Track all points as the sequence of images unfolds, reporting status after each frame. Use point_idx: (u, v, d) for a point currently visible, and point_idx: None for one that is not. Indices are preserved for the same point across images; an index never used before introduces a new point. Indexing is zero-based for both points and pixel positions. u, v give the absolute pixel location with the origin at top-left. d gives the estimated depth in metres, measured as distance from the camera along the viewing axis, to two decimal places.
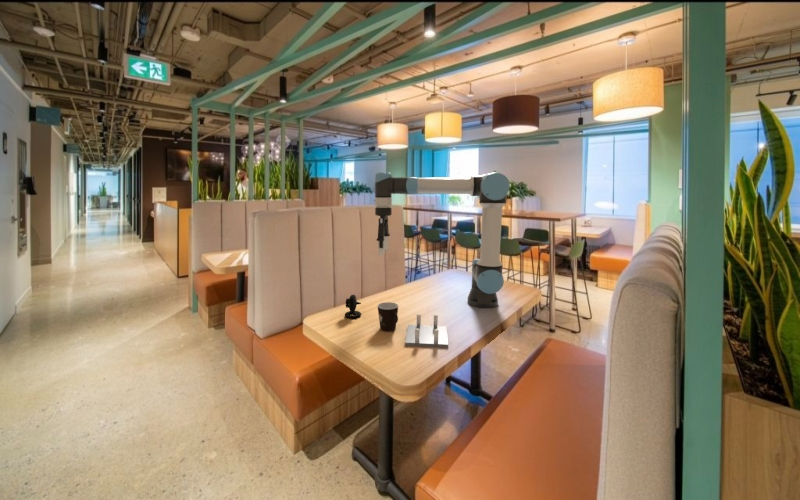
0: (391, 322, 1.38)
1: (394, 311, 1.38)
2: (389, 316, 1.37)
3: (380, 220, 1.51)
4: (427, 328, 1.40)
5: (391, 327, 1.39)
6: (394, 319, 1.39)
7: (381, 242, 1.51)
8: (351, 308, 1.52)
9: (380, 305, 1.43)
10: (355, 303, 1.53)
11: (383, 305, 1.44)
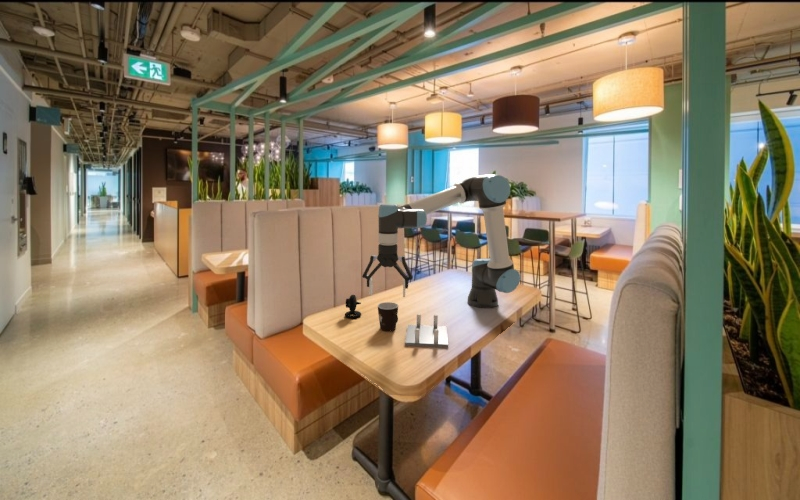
0: (391, 322, 1.38)
1: (394, 311, 1.38)
2: (389, 316, 1.37)
3: None
4: (427, 328, 1.40)
5: (391, 327, 1.39)
6: (394, 319, 1.39)
7: None
8: (351, 308, 1.52)
9: (380, 305, 1.43)
10: (355, 303, 1.53)
11: (383, 305, 1.44)
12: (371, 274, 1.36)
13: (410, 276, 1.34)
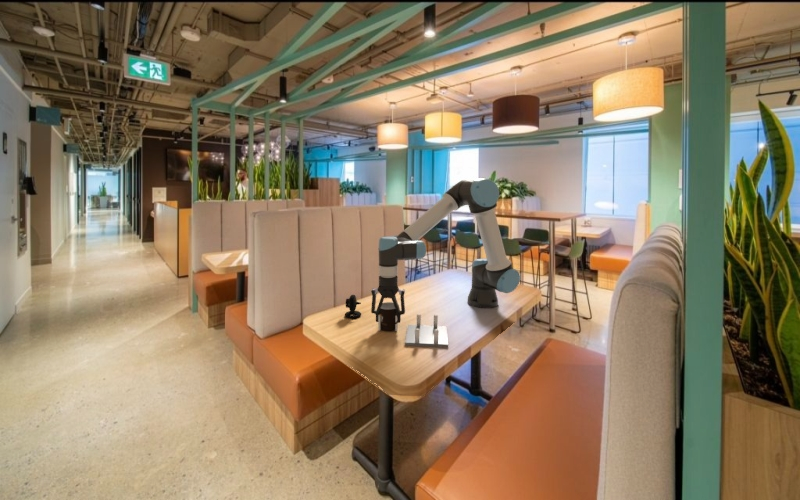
0: (392, 322, 1.38)
1: (395, 311, 1.38)
2: (390, 316, 1.37)
3: None
4: (427, 328, 1.40)
5: (392, 327, 1.39)
6: None
7: None
8: (351, 308, 1.52)
9: None
10: (355, 303, 1.53)
11: (384, 305, 1.44)
12: (378, 309, 1.38)
13: (403, 311, 1.37)
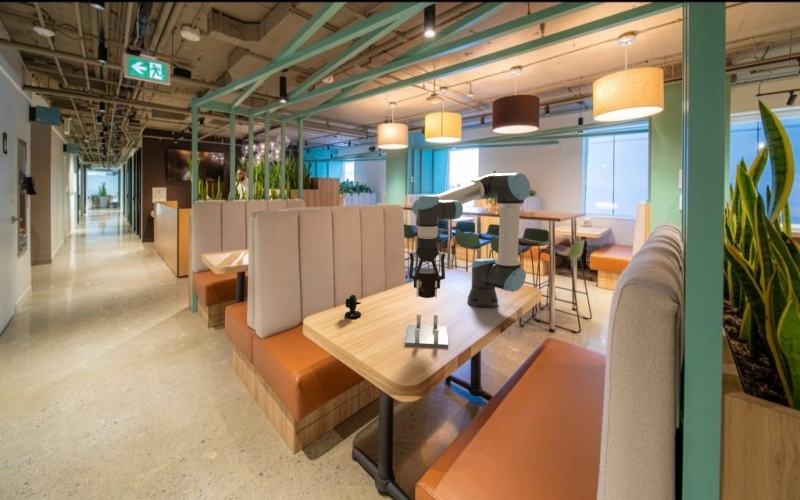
0: (431, 288, 1.29)
1: (434, 276, 1.29)
2: (430, 281, 1.28)
3: None
4: (427, 328, 1.40)
5: (431, 293, 1.30)
6: (434, 284, 1.30)
7: None
8: (351, 308, 1.52)
9: None
10: (355, 303, 1.53)
11: (421, 271, 1.35)
12: (417, 273, 1.29)
13: (443, 275, 1.28)
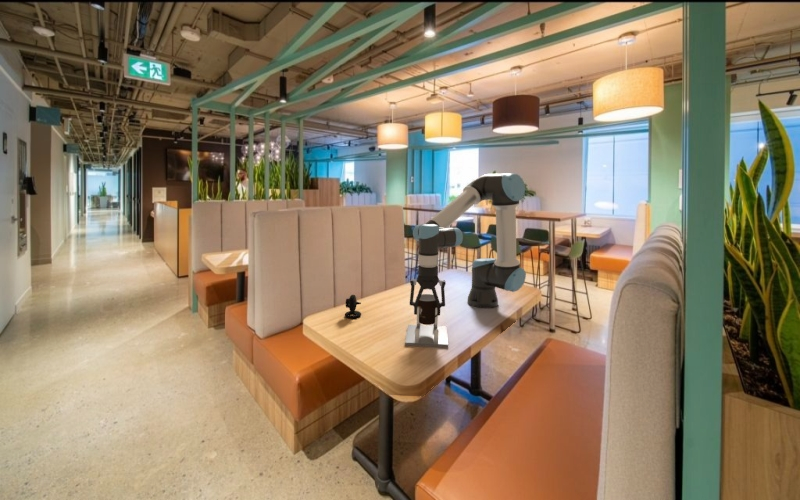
0: (431, 315, 1.31)
1: (435, 303, 1.30)
2: (430, 308, 1.30)
3: None
4: (427, 328, 1.40)
5: (431, 320, 1.32)
6: (434, 311, 1.32)
7: (414, 307, 1.32)
8: (351, 308, 1.52)
9: None
10: (355, 303, 1.53)
11: (421, 297, 1.36)
12: (417, 300, 1.31)
13: (443, 303, 1.30)
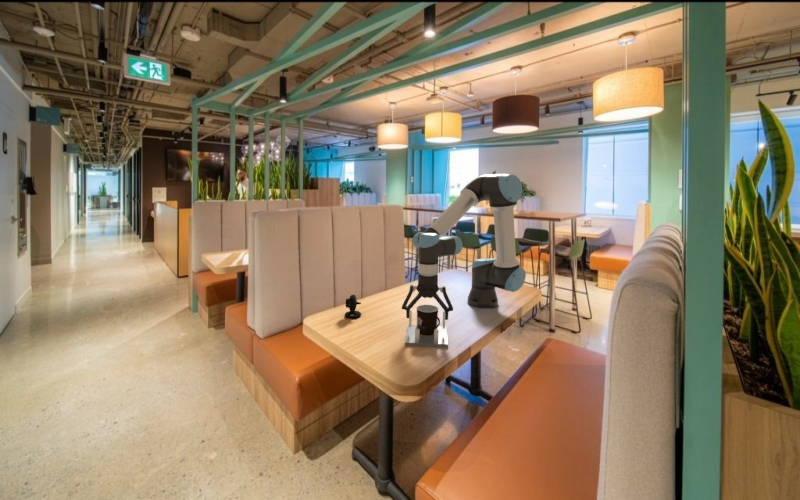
0: (431, 326, 1.32)
1: (435, 314, 1.31)
2: (430, 319, 1.31)
3: (410, 287, 1.32)
4: None
5: (431, 331, 1.32)
6: (434, 322, 1.32)
7: (406, 311, 1.33)
8: (351, 308, 1.52)
9: (418, 308, 1.36)
10: (355, 303, 1.53)
11: (421, 308, 1.37)
12: (411, 305, 1.31)
13: (451, 307, 1.30)
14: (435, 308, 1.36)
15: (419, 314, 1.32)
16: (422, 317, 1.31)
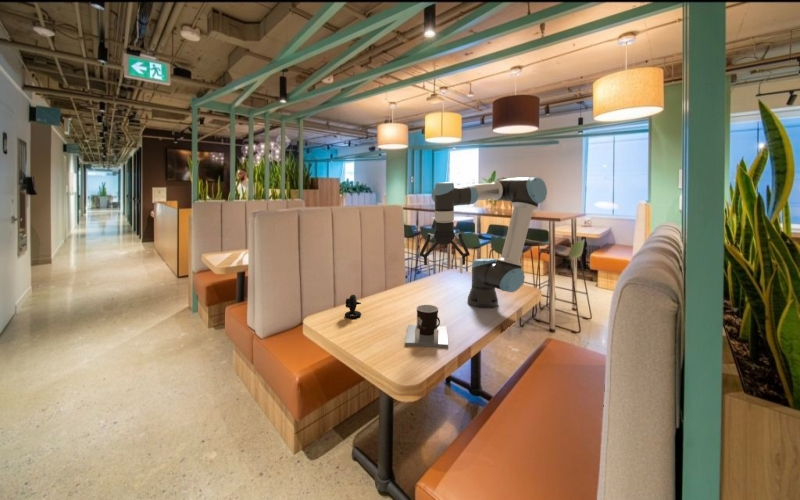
0: (431, 326, 1.32)
1: (435, 314, 1.31)
2: (430, 319, 1.31)
3: (427, 235, 1.38)
4: None
5: (431, 331, 1.32)
6: (434, 322, 1.32)
7: None
8: (351, 308, 1.52)
9: (418, 308, 1.36)
10: (355, 303, 1.53)
11: (421, 308, 1.37)
12: (428, 252, 1.38)
13: (467, 252, 1.37)
14: (435, 308, 1.36)
15: (419, 314, 1.32)
16: (422, 317, 1.31)
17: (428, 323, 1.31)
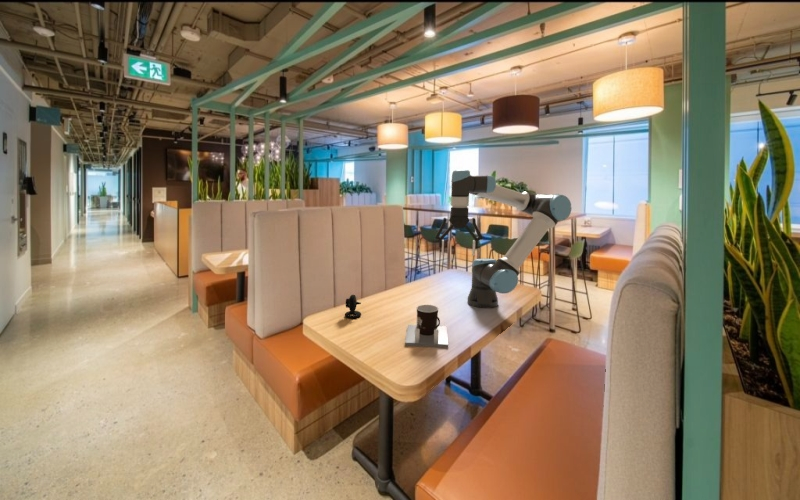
0: (431, 326, 1.32)
1: (435, 314, 1.31)
2: (430, 319, 1.31)
3: (443, 219, 1.49)
4: None
5: (431, 331, 1.32)
6: (434, 322, 1.32)
7: (439, 241, 1.50)
8: (351, 308, 1.52)
9: (418, 308, 1.36)
10: (355, 303, 1.53)
11: (421, 308, 1.37)
12: (444, 235, 1.48)
13: (480, 236, 1.47)
14: (435, 308, 1.36)
15: (419, 314, 1.32)
16: (422, 317, 1.31)
17: (428, 323, 1.31)
